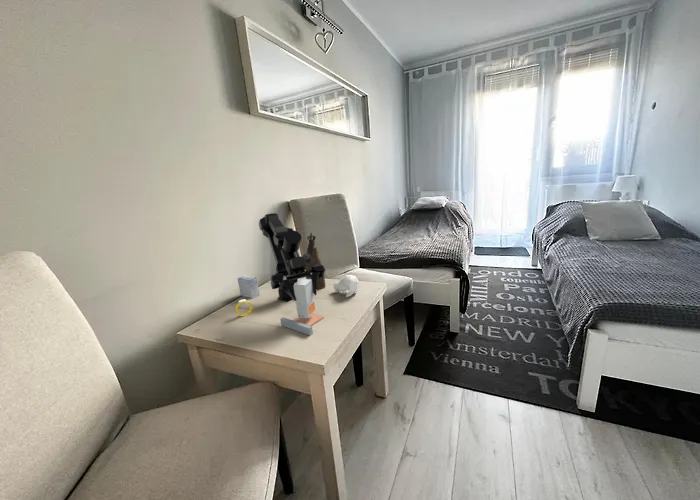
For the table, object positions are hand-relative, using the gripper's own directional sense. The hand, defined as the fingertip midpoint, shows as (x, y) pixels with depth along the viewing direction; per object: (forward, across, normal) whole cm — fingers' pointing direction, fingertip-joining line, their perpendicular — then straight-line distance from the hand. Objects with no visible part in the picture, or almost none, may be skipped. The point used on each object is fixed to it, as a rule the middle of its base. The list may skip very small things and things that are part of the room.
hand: (305, 297), depth 98 cm
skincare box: (+4, 0, +6) cm, 7 cm away
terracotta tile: (+6, 0, +7) cm, 9 cm away
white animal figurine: (-4, +21, +17) cm, 27 cm away
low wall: (+8, -5, +4) cm, 11 cm away
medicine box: (-22, -14, +36) cm, 44 cm away
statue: (-15, +14, +29) cm, 36 cm away
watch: (-8, -19, +22) cm, 30 cm away
